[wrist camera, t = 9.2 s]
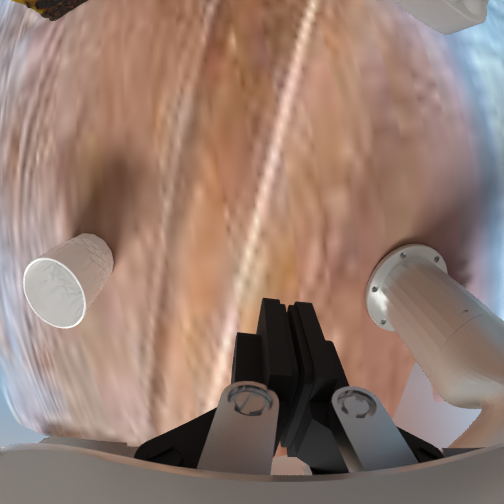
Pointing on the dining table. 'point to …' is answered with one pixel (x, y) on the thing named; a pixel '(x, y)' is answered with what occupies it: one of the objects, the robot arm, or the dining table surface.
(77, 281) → the white cup
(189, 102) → the dining table surface
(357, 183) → the dining table surface
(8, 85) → the dining table surface
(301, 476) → the robot arm
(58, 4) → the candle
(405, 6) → the lumpy-topped squat cylinder
